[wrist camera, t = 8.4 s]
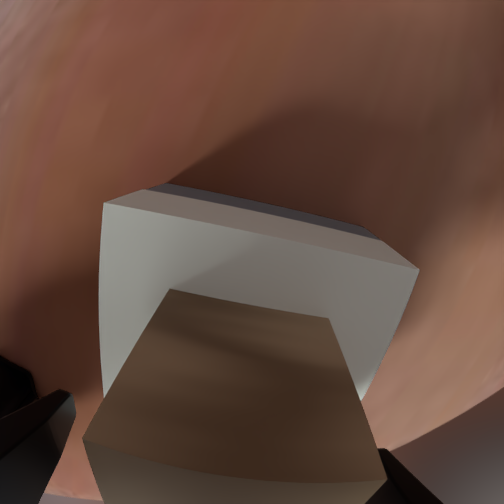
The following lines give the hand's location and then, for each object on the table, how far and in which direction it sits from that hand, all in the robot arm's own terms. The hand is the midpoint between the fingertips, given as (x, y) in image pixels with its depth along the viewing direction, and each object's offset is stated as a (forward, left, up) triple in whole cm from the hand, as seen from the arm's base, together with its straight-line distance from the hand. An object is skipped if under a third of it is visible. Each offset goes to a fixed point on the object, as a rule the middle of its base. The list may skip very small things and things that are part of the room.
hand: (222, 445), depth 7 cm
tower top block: (0, 0, -7) cm, 7 cm away
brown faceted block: (0, +1, -3) cm, 3 cm away
